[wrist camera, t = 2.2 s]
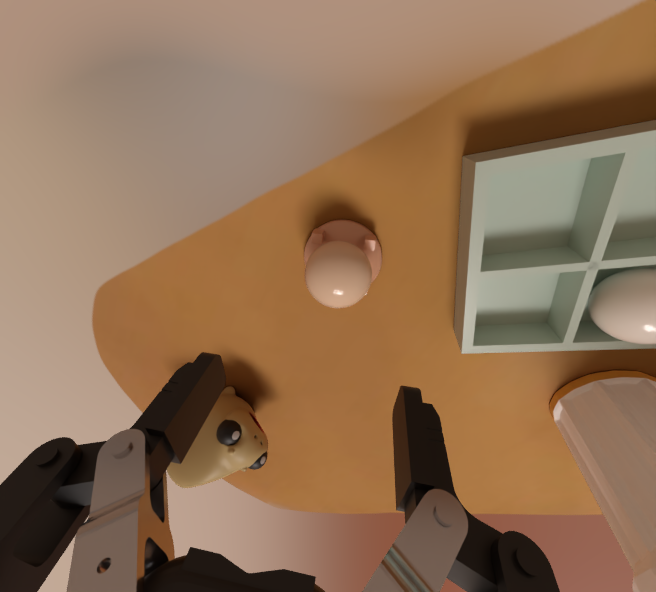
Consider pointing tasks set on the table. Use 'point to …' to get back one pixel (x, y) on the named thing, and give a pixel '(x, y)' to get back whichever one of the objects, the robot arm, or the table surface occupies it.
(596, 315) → the cream egg
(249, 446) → the yellow toy animal head
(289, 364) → the table surface
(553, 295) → the egg tray
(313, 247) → the egg cup
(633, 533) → the cup
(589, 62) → the table surface
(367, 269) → the brown egg
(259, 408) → the table surface
